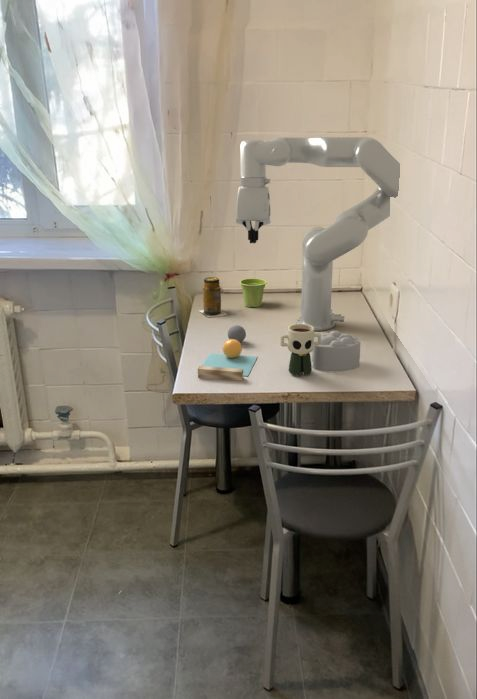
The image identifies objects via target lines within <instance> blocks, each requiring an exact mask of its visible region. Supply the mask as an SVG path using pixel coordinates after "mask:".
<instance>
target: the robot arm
mask: <svg viewBox="0 0 477 699" xmlns="http://www.w3.org/2000/svg"><path fill="white" fill-rule="evenodd" d="M239 157H240V158H239V159H240V186H239V187H238V190H237V195H236V197H237V198H236V209H235V210H236V211H235V213H236V214H235V215H236V220H235V223H236V224H238V225H243V226H244V227H245V229H246V230H247V240H248V241H249V244H256V243H257V242H258V241H259V229H261V227H262V226H266V225H270V224H271V222H272V221H271V218H270V217H271V199H270V188H269V186H266V185H268V184H271V179H270V178H267V177H266V169H267V168H266V165H267V166H273V167H282V166H285V165H286V164H287V163H288V164H290V163H295V164H296V163H299V164H300V163H301V164H311V165H315V166H319V167H321V168H323V167H324V168H360V169H362V171H363V172H364V173H365V174H366V175H367V176H368V177H369V179H371V180H372V181H373V183H375V184H376V185H377V187H376V189H375V191H374V192H373V193H372V194H371V195H370V196H368V197H367V198H366V199H365V198H364V199H363V200H362V201H361V202H359V203H357V204H355V205H354V206H352V207H350V208H348V209H346V210H345V211H342V212H341V213H339V214H338V215H337V216H336V217H335V219H334V222H333V224H331V225H330V226H328V227H326V228H325V227H322V226H315V227H312V228H310V229H308V230H307V231H306V232H305V234H304V236H303V238H302V244H301V245H302V248H301V249H302V254H301V256H302V257H301V258H302V264H301V266H302V268H301V269H302V270H301V272H302V273H301V303H300V304H301V306H300V308H301V310H300V312H301V313H300V317H297V319H296V321H295V322H296V323H295V324H308V325H311V326H313V327H314V332H315V331H317V332H318V331H327V330H331V329H332V328H334V327H335V326H336V322H340V323H344V322H345V315H342V314H341V313H340V314H338V313H333V309H332V292H333V291H332V289H333V288H332V287H333V273H334V272H333V270H334V268H333V267H334V266H333V265H334V263H333V262H334V261H335V260H336V259H338V258H340V257H342V256H344V255H346V254H347V253H349V252H352V251H353V250H355V249H356V248H358V247H359V246H360V245H362V243H363V242H364V241H365V240H366V239H367V236H368V233H369V231H370V230H371V229H373V228H375V227H376V226H378V225H380V223H382V222H385V221H386V220H387V219H389V218H390V217H391V216H390V197H394V198H396V197H397V196H398V191H399V178H400V164H401V163H400V162H399V161H398V160H397V159H396V158H395V157H394V156H393V155H392V154H391V153H390V151H389V150H387V149H386V147H384V145H383V144H382V143H381V142H380V141H378V140H377V139H375V138H372V137H366V136H363V137H360V136H355V137H353V136H352V137H349V136H347V137H344V136H342V137H340V136H337V137H336V136H333V137H332V136H331V137H330V136H321V137H275V138H273V139H271V140H267V141H265V140H261V139H246V140H245V139H244V140H242V141H241V142H240V156H239ZM252 221H254V227H253V223H252Z"/></svg>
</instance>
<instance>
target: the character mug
mask: <svg viewBox="0 0 477 699" xmlns="http://www.w3.org/2000/svg"><path fill="white" fill-rule="evenodd" d="M321 334H322V333H317V332H316V333H315V331H314V327H313V326H311V325H308V324H296V323H294V324H293V323H292V324H291V325H288V327H287V334H280V346H281V347H287V349H288V351H289V352H290V353H291V354H290V359H289V365H288V371H289V373H290V374H292V375H293V376H301V374H302V373H303V376H308V375H310V374H311V373H312V372H313V371H312V370H313V365H312V356H311V354H310V353H311V352H312V351H313V349H314V345H320V344H321ZM314 337H318V341H317V342H314ZM285 339H287V342H285Z"/></svg>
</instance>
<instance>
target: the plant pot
mask: <svg viewBox="0 0 477 699" xmlns="http://www.w3.org/2000/svg"><path fill="white" fill-rule="evenodd" d="M239 284H240V286H241V288H242V289H241V290H242V295H243V296H242V297H243V305H244V306H245V307H247V308H260V307H261V306H262V304H263V299H264V297H263V296H264V292H265V287H266V284H267V281H266V280H265V279H262V278H243V279H241V280H240V281H239Z"/></svg>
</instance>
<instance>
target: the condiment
mask: <svg viewBox="0 0 477 699" xmlns="http://www.w3.org/2000/svg"><path fill="white" fill-rule="evenodd" d="M221 288H222V287H221V286H220V279H219V277H215V276H214V277H213V276H211V277H209V276H208V277H205V278H204V279H203V287H202V290H203V291H202V293H203V294H202V298H203V299H202V303H203V304H202V305H203V309H201V310H200V309H199V310H198V312H200V313H201V314H203V315H204V316H205V317H207V318H214V317H221V316H227V315H228V313H226V312H225V311H222V291H221V290H222V289H221Z"/></svg>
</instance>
